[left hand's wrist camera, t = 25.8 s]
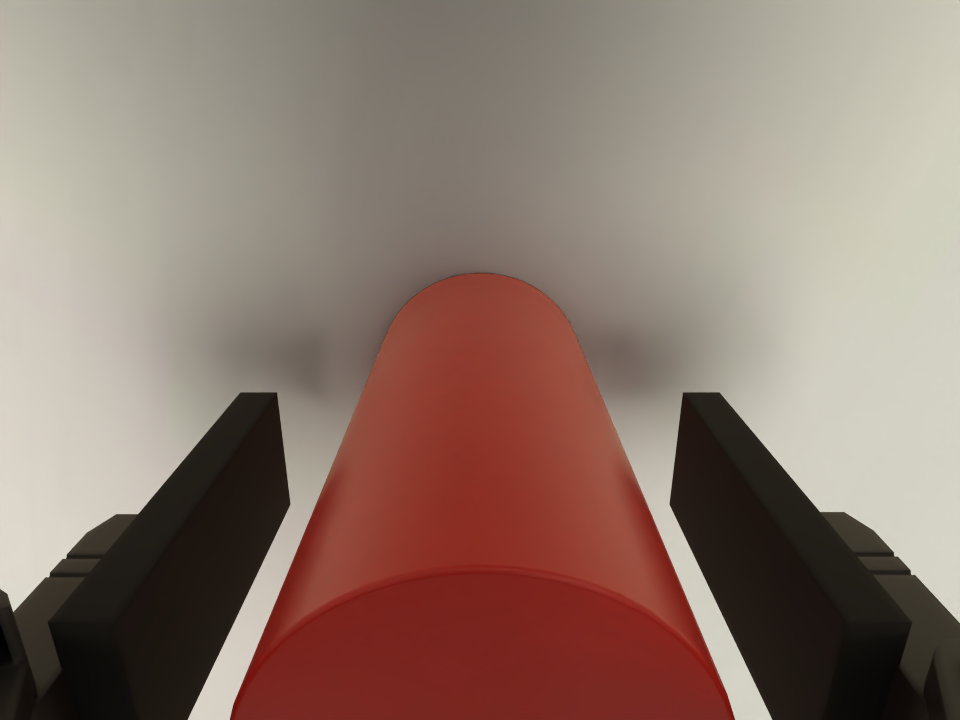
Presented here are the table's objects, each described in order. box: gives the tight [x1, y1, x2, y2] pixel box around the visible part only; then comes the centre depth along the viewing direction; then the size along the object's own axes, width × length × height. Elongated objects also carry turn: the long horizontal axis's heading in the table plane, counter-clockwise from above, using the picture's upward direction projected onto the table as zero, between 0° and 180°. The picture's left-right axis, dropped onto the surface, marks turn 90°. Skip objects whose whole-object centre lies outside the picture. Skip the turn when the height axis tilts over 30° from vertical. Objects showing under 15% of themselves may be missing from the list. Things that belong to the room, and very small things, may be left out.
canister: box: [230, 273, 735, 720], centre depth 13 cm, size 6×6×12 cm
